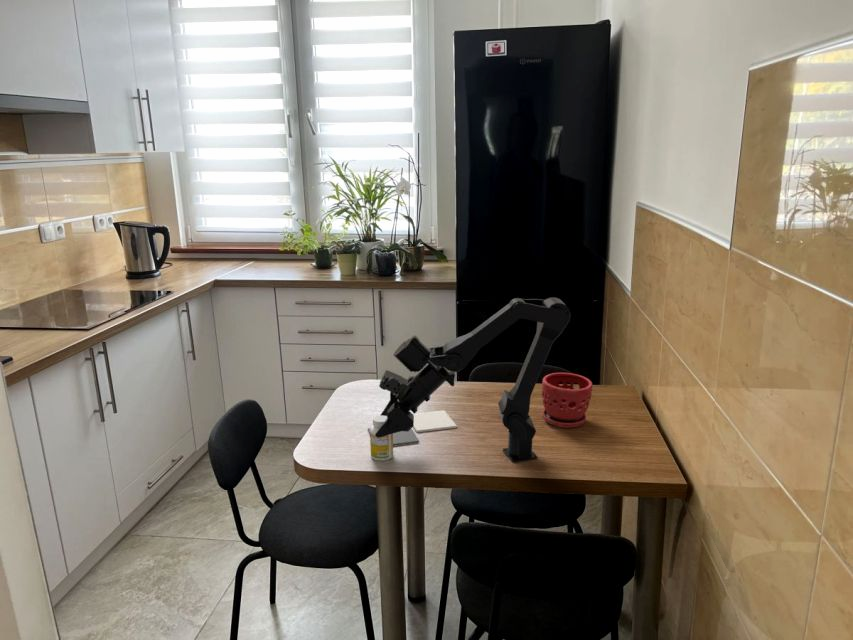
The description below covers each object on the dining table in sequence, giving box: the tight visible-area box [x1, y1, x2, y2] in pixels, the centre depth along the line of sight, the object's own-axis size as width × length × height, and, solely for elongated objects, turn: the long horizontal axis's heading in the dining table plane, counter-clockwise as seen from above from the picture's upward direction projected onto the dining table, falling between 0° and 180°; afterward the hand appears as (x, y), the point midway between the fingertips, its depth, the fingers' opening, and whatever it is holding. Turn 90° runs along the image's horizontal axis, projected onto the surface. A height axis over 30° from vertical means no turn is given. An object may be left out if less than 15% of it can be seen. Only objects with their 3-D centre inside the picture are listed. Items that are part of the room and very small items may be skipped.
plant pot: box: [541, 372, 593, 428], centre depth 172 cm, size 13×13×12 cm
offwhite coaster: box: [412, 409, 458, 433], centre depth 174 cm, size 11×11×1 cm
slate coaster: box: [367, 427, 420, 447], centre depth 165 cm, size 11×11×1 cm
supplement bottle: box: [369, 415, 394, 461], centre depth 153 cm, size 5×5×10 cm
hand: (378, 428), depth 152 cm, fingers open, 9 cm apart
